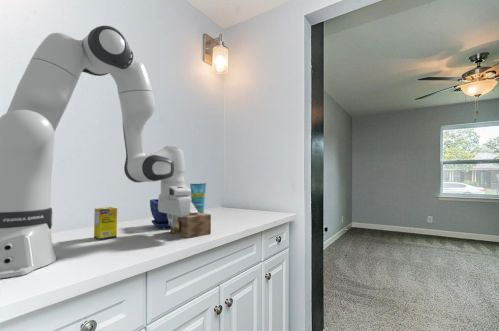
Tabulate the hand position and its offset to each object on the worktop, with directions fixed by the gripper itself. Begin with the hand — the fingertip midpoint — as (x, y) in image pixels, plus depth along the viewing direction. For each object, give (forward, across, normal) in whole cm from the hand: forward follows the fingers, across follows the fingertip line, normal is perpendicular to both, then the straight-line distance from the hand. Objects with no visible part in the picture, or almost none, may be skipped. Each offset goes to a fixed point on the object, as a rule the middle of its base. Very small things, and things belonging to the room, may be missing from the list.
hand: (172, 226), depth 96 cm
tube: (+4, -11, +18) cm, 21 cm away
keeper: (-7, -1, +7) cm, 10 cm away
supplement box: (+4, -14, -20) cm, 24 cm away
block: (+4, 0, +8) cm, 8 cm away
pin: (+2, 0, +8) cm, 8 cm away
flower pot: (+4, -19, +6) cm, 20 cm away
